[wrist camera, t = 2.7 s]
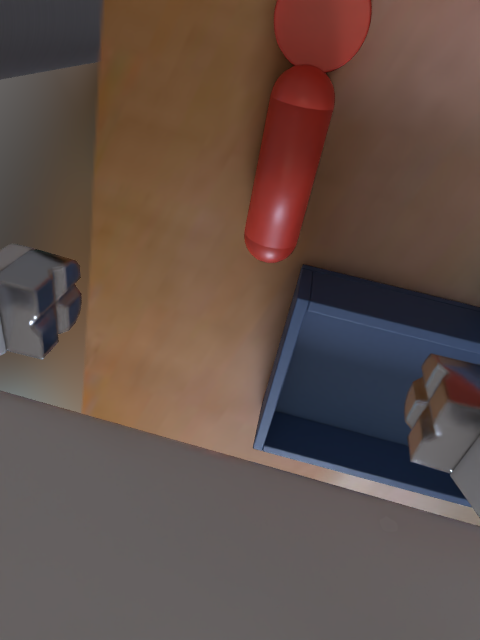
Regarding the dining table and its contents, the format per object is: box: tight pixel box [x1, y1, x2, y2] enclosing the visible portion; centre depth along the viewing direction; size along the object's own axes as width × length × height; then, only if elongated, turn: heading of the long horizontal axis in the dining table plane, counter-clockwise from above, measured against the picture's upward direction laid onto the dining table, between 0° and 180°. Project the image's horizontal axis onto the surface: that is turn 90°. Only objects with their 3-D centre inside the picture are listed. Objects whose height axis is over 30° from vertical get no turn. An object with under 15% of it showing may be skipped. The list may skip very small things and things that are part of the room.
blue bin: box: [253, 264, 480, 507], centre depth 25 cm, size 14×11×4 cm
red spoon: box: [244, 0, 372, 263], centre depth 19 cm, size 4×12×3 cm, turn 170°
